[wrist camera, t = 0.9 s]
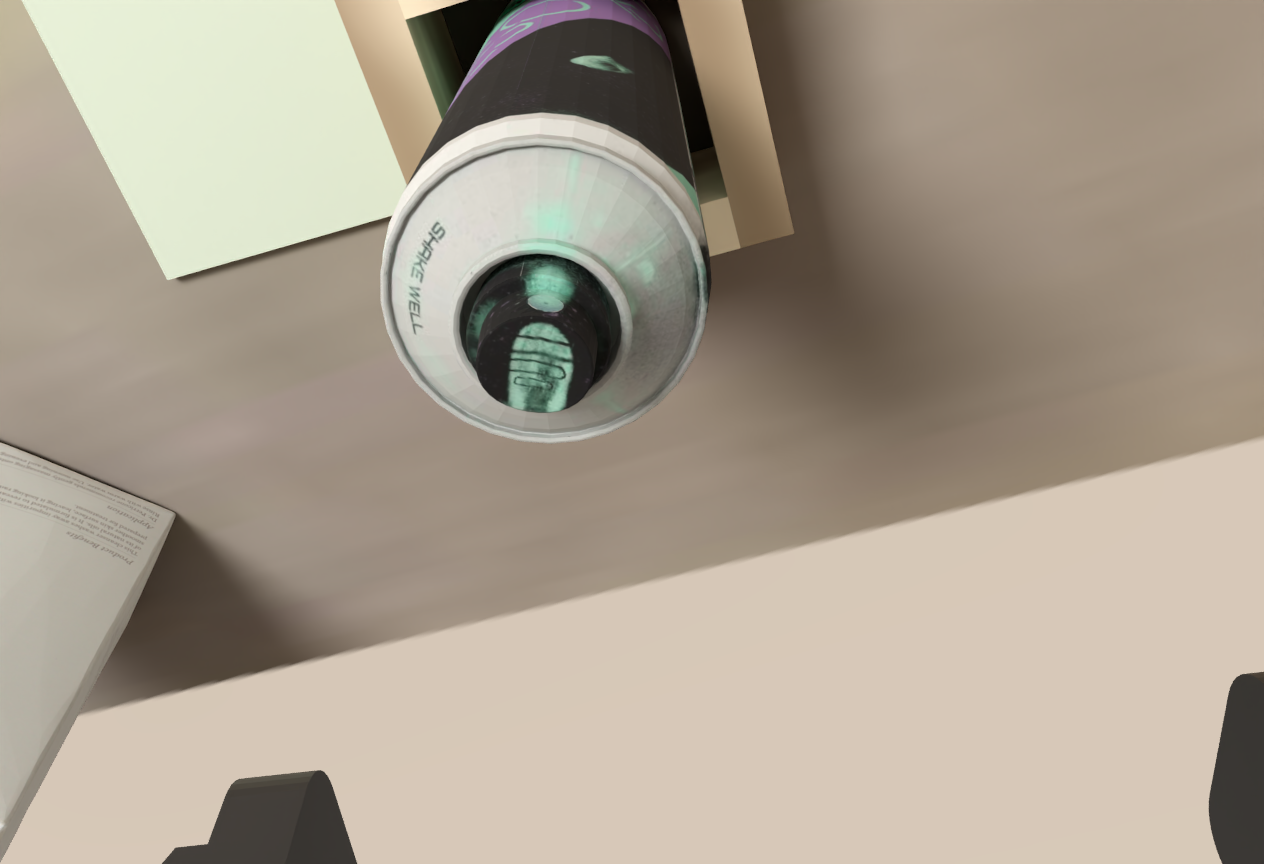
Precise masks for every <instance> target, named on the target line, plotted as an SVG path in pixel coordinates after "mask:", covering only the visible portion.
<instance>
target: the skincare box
mask: <svg viewBox="0 0 1264 864" xmlns="http://www.w3.org/2000/svg"><path fill="white" fill-rule="evenodd" d="M174 519H175V513H174V512H172V511H170V510H167V509H165V508H163V507H160V506H158V505H155V504H153V503H150V502H148V501H145V500H143V499H140V498H138V497H135V496H133V495H130V494H128V493H125V492H122V491H120V490H117V489H115V488H112V487H110V486H108V485H105V484H103V483H100V482H98V481H95V480H93V479H91V478H88V477H86V476H83V475H81V474H78V473H76V472H73V471H71V470H69V469H66V468H64V467H61V466H59V465H56V464H54V463H51V462H49V461H46V460H44V459H41V458H39V457H37V456H34V455H32V454H29V453H27V452H24V451H21V450H19V449H16V448H14V447H11V446H9V445H6V444H3V443H1V442H0V862H1V860H2V858H3V856H4V855H5V853H6V851H7V849H8V847H9V845H10V843H11V841H12V839H13V837H14V836H15V834H16V832H17V830H18V828H19V826H20V823H21V821H22V819H23V817H24V815H25V813H26V811H27V809H28V807H29V806H30V804H31V802H32V800H33V798H34V797H35V795H36V793H37V791H38V789H39V788H40V786H41V784H42V782H43V780H44V778H45V776H46V775H47V773H48V771H49V769H50V767H51V765H52V763H53V761H54V759H55V758H56V756H57V753H58V752H59V750H60V748H61V746H62V744H63V742H64V740H65V739H66V737H67V735H68V733H69V731H70V729H71V727H72V725H73V724H74V722H75V720H76V718H77V716H78V714H79V713H80V711H81V709H82V707H83V705H84V704H85V702H86V700H87V698H88V696H89V694H90V692H91V690H92V689H93V687H94V685H95V683H96V681H97V679H98V677H99V675H100V673H101V671H102V670H103V668H104V666H105V664H106V662H107V660H108V659H109V657H110V655H111V653H112V651H113V649H114V648H115V646H116V644H117V642H118V640H119V639H120V637H121V635H122V633H123V631H124V630H125V628H126V626H127V624H128V622H129V620H130V618H131V615H132V613H133V611H134V609H135V606H136V604H137V602H138V600H139V598H140V596H141V593H142V591H143V589H144V587H145V584H146V582H147V580H148V578H149V576H150V573H151V571H152V569H153V567H154V565H155V562H156V560H157V558H158V556H159V553H160V551H161V549H162V547H163V544H164V542H165V540H166V538H167V535H168V533H169V531H170V528H171V526H172V524H173V521H174Z"/></svg>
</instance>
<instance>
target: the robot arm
mask: <svg viewBox="0 0 1264 864" xmlns="http://www.w3.org/2000/svg"><path fill="white" fill-rule="evenodd" d="M1209 817H1210V825H1211V830H1212V834H1213V839H1214V842H1215V845H1216V848H1217V851H1218V854H1219V857H1220V859H1221V861H1222V864H1264V672H1259V673H1250V674H1242V675H1240V676H1238V677H1237V678H1236V679H1235V680H1234V681H1233V683H1232V685H1231V687H1230V691H1229V695H1228V700H1227V705H1226V711H1225V716H1224V721H1223V727H1222V732H1221V737H1220V743H1219V748H1218V753H1217V759H1216V764H1215V770H1214V775H1213V780H1212V785H1211V791H1210V798H1209ZM162 864H357V862H356V859H355V856H354V852H353V849H352V847H351V843H350V840H349V837H348V834H347V831H346V828H345V824H344V821H343V818H342V815H341V812H340V809H339V806H338V803H337V800H336V796H335V794H334V790H333V787H332V785H331V782H330V780H329V778H328V776H327V775H326V774H325V773H324V772H323V771H321V770H320V771H309V772H300V773H291V774H281V775H272V776H262V777H254V778H245V779H238V780H236V781H235V782H234V783H233V784H232V785H231V786H230V788H229V790H228V792H227V794H226V796H225V799H224V802H223V804H222V807H221V810H220V812H219V815H218V818H217V821H216V823H215V826H214V829H213V831H212V834H211V837H210V840H209V842H208V844H207V845H197V846H187V847H178V848H175V849H174V850H173V851H172V853H171V854H170V855H169V856H168V857H167V859H166V860H165V861H164V862H163V863H162Z"/></svg>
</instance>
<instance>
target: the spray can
mask: <svg viewBox="0 0 1264 864" xmlns="http://www.w3.org/2000/svg"><path fill="white" fill-rule="evenodd" d="M380 277H381V306H382V310H383V315H384V319H385V323H386V328H387V332H388V334H389V337H390V339H391V341H392V343H393V345H394V348H395V350H396V352H397V354H398V357H399V359H400V360H401V362H402V363H403V365H404V366H405V367H406V369H407V370H408V372H409V373H410V374H411V376H412V377H413V379H414V380H415V382H416V383H417V384H418V385H419V386H420V387H421V388H422V389H423V390H424V391H425V392H426V393H427V394H428V395H429V396H430V397H431V398H432V399H433V400H434V401H435V402H436V403H437V404H439V405H440V406H441V407H443V408H444V409H446V410H447V411H449V412H450V413H452V414H453V415H455V416H456V417H458V418H459V419H461V420H462V421H464V422H466V423H468V424H470V425H473V426H475V427H477V428H479V429H482V430H484V431H486V432H488V433H491V434H494V435H498V436H502V437H506V438H510V439H514V440H518V441H523V442H536V443H549V444H553V443H563V442H574V441H582V440H586V439H589V438H593V437H597V436H600V435H604V434H608V433H611V432H613V431H615V430H617V429H619V428H621V427H623V426H625V425H627V424H629V423H632V422H634V421H636V420H637V419H639V418H640V417H641V416H643V415H644V414H645V413H647V412H648V411H650V410H651V409H652V408H654V407H655V406H656V405H658V404H659V403H660V402H661V401H662V400H663V399H664V398H665V397H666V396H667V395H668V394H669V392H670V391H671V390H672V389H673V388H674V387H675V386H676V385H677V384H678V383H679V382H680V380H681V378H682V377H683V375H684V373H685V372H686V370H687V369H688V367H689V365H690V364H691V362H692V360H693V359H694V357H695V354H696V352H697V349H698V346H699V343H700V340H701V338H702V335H703V332H704V328H705V321H706V314H707V311H708V303H709V296H710V289H711V269H710V255H709V248H708V243H707V238H706V233H705V227H704V222H703V217H702V212H701V207H700V202H699V197H698V192H697V187H696V182H695V177H694V171H693V166H692V161H691V156H690V151H689V146H688V141H687V136H686V131H685V126H684V121H683V115H682V110H681V105H680V100H679V95H678V90H677V85H676V80H675V75H674V70H673V65H672V59H671V54H670V51H669V47H668V44H667V40H666V37H665V34H664V32H663V30H662V28H661V26H660V24H659V22H658V20H657V19H656V17H655V15H654V14H653V13H652V12H651V10H650V9H649V8H648V6H647V5H646V4H645V3H644V1H642V0H512V1H511V2H510V3H509V4H508V5H507V7H506V8H505V9H504V11H503V12H502V14H501V15H500V16H499V18H498V19H497V21H496V23H495V24H494V26H493V28H492V30H491V32H490V34H489V35H488V37H487V39H486V41H485V43H484V45H483V46H482V48H481V50H480V52H479V54H478V56H477V57H476V59H475V61H474V63H473V65H472V67H471V69H470V70H469V72H468V74H467V76H466V78H465V80H464V81H463V83H462V85H461V87H460V89H459V91H458V92H457V94H456V96H455V98H454V100H453V102H452V103H451V105H450V107H449V109H448V111H447V113H446V114H445V116H444V118H443V120H442V122H441V124H440V125H439V127H438V129H437V131H436V133H435V135H434V137H433V138H432V140H431V142H430V144H429V146H428V148H427V149H426V151H425V153H424V155H423V157H422V159H421V160H420V162H419V164H418V166H417V168H416V170H415V171H414V173H413V175H412V177H411V179H410V181H409V182H408V184H407V186H406V188H405V190H404V192H403V193H402V195H401V198H400V200H399V202H398V205H397V207H396V209H395V211H394V214H393V216H392V218H391V220H390V223H389V226H388V231H387V236H386V241H385V246H384V251H383V263H382V268H381V272H380Z"/></svg>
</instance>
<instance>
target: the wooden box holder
mask: <svg viewBox="0 0 1264 864" xmlns="http://www.w3.org/2000/svg"><path fill="white" fill-rule="evenodd" d="M334 1H335V4H336V6H337V9H338V11H339V14H340V16H341V19H342V21H343V24H344V26H345V29H346V32H347V34H348V37H349V39H350V42H351V44H352V47H353V49H354V52H355V54H356V57H357V60H358V62H359V65H360V67H361V70H362V72H363V75H364V77H365V80H366V82H367V85H368V88H369V90H370V93H371V95H372V98H373V100H374V103H375V105H376V108H377V110H378V113H379V116H380V118H381V121H382V123H383V126H384V128H385V131H386V133H387V136H388V138H389V141H390V144H391V146H392V149H393V151H394V154H395V156H396V159H397V161H398V164H399V166H400V169H401V172H402V174H403V177H404V179H405V182H406V184H408V182H409V181H410V179H411V177H412V175H413V173H414V171H415V170H416V168H417V166H418V164H419V162H420V160H421V159H422V157H423V155H424V153H425V151H426V149H427V148H428V146H429V144H430V142H431V140H432V138H433V137H434V135H435V133H436V131H437V129H438V127H439V125H440V124H441V122H442V120H443V118H444V116H445V114H446V113H447V111H448V109H449V107H450V105H451V103H452V102H453V100H454V98H455V96H456V94H457V92H458V91H459V89H460V87H461V85H462V83H463V81H464V80H465V76H464V74H463V71H462V68H461V65H460V62H459V59H458V56H457V54H456V51H455V48H454V45H453V42H452V39H451V37H450V34H449V31H448V28H447V25H446V22H445V19H444V17H443V14H442V11H441V8H444V7H448V6H451V5H454V4H457V3H460V2H464V1H467V0H334ZM677 1H678V5H679V9H680V13H681V17H682V21H683V25H684V29H685V33H686V37H687V41H688V45H689V49H690V53H691V57H692V61H693V65H694V69H695V73H696V76H697V80H698V84H699V88H700V92H701V96H702V100H703V104H704V108H705V112H706V116H707V120H708V124H709V128H710V132H711V136H712V140H713V144H714V147H710V148H707V149H703V150H700V151H696V152H693V153H690V156H691V161H692V166H693V171H694V177H695V182H696V187H697V192H698V197H699V202H700V207H701V212H702V217H703V222H704V227H705V233H706V238H707V243H708V248H709V255H710V257H711V256H714V255H718V254H722V253H725V252H729V251H733V250H736V249H740V248H744V247H747V246H751V245H755V244H758V243H762V242H766V241H769V240H773V239H777V238H780V237H784V236H788V235H791V234H794V230H793V225H792V221H791V216H790V212H789V207H788V203H787V199H786V194H785V190H784V185H783V181H782V176H781V172H780V168H779V163H778V159H777V154H776V150H775V146H774V141H773V137H772V132H771V128H770V123H769V119H768V115H767V110H766V106H765V101H764V97H763V92H762V88H761V84H760V79H759V75H758V70H757V66H756V61H755V57H754V53H753V48H752V44H751V39H750V35H749V30H748V26H747V22H746V17H745V13H744V8H743V4H742V0H677Z"/></svg>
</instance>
